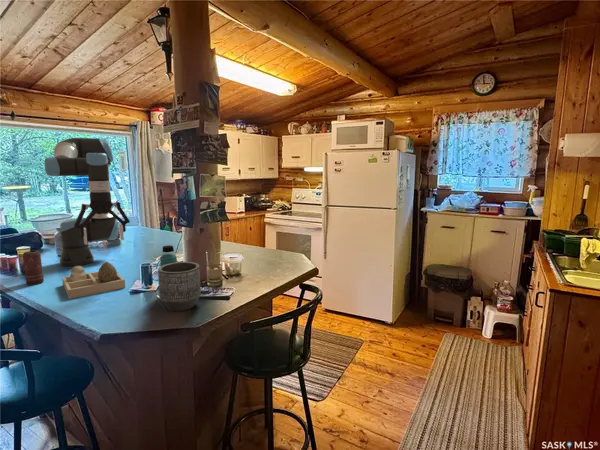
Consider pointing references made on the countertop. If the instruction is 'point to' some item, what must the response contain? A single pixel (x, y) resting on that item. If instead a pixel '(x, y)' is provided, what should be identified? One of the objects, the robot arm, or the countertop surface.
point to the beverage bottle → (168, 256)
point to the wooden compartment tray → (90, 285)
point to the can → (33, 267)
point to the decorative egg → (107, 273)
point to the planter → (179, 285)
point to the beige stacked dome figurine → (77, 274)
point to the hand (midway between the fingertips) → (104, 241)
